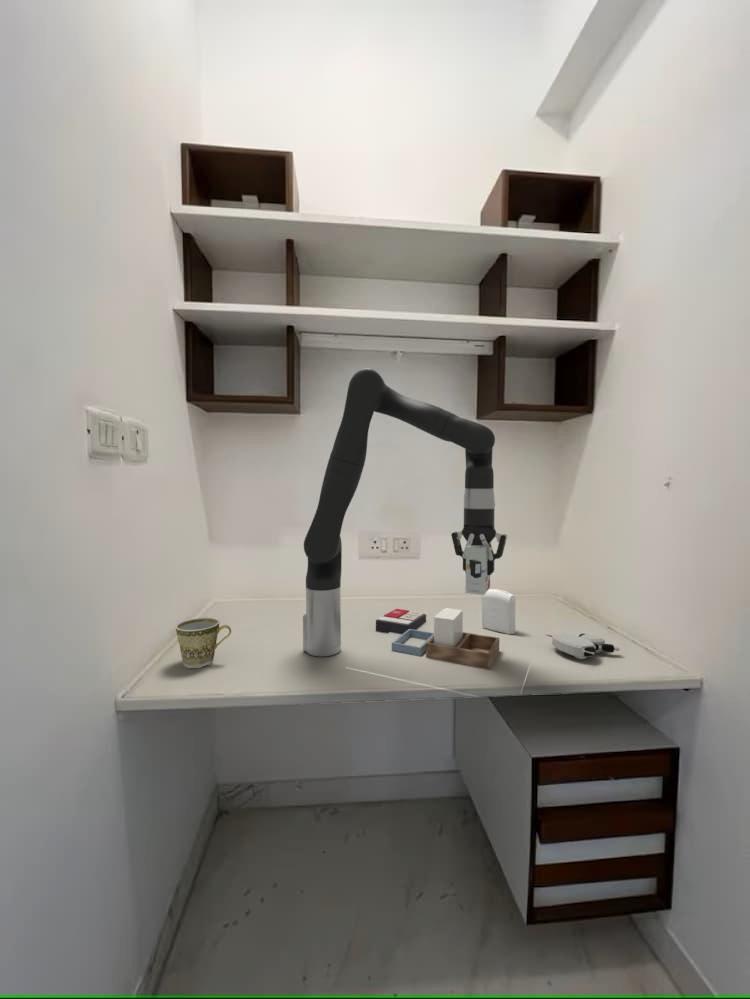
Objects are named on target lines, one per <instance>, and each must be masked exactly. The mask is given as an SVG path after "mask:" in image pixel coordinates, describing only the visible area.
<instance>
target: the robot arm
mask: <svg viewBox="0 0 750 999" xmlns="http://www.w3.org/2000/svg"><path fill="white" fill-rule="evenodd" d="M349 380H350V381H349V383H348V387H347V392H346V399H345V405H344V409H343V414H342V418H341V422H340V425H339V428H338V430H337V432H336V436H335V440H334V443H333V446H332V449H331V452H330V455H329V458H328V461H327V465H326V469H325V472H324V477H323V480H322V484H321V489H320V495H319V498H318V499H319V500H318V504H317V507H316V510H315V513H314V516H313V519H312V522H311V524H310V526H309V529H308V530H307V533H306V535H305V537H304V540H303V551H304V553H305V556H306V557H307V570H306V576H305V614H303V615H302V651H303V652H306V653H307V654H308V655H310V656H313V657H330V656H334V655H336V654H339V652H341V649H342V640H341V638H342V616H341V614H342V611H341V608H342V607H341V606H342V605H341V604H342V603H341V602H342V597H341V594H342V593H341V591H342V590H341V588H342V586H341V584H342V583H341V580H342V558H343V556H342V547H343V546H342V538H341V537H342V536H341V531H342V528H343V523H344V518H345V515H346V513H347V510H348V509H349V506H350V504H351V502H352V500H353V498H354V496H355V493H356V491H357V489H358V486H359V483H360V480H361V477H362V474H363V470H364V467H365V462H366V459H367V458H366V457H367V449H368V438H369V430H370V429H369V428H370V424H371V421H372V419H373V415H374V413H375V412H376V413H379V414H382V415H387V416H389V417H392V418H395V419H397V420H400V421H402V422H403V423H404V422H405V423H407V424H408V425H411V426H412V427H415V428H416V429H419V430H420V431H423V432H424V433H427V434H429V435H431V436H433V437H435V438H437V439H440V440H442V441H445V442H449V443H453V444H455V445H456V446H459V447H461V448H463V449H464V452H465V456H464V457H465V473H464V495H463V527H462V529H461V531H454V532H451V535H450V536H451V540H452V544H453V549H454V552H455V555H456V556H458V557H460V558H462V570H463V571H464V572H465V574H466V547H467V546H468V545H483V546H487V556H488V561H487V575H490V576H491V575H492V574H493V573H494V572H495V560H498V559H501V558H502V556H503V555H504V550H505V546H506V543H507V538H508V535H507V534H506V533H504V534H503V533H498V532H497V531H496V529H495V507H496V501H495V492H494V490H495V489H494V487H495V486H494V480H495V478H494V469H493V448H494V446H495V443H496V438H495V434H494V432H493V431H492V429H491V428H489V427H487V426H486V425H483V424H481V423H479V422H476V421H474V420H469V419H467V418H464V417H460V416H458V415H456V414H455V413H452V412H450V411H448V410H447V409H444V408H441V407H439V406H436V405H434V404H431V403H428V402H424V401H420V400H416V399H414V398H410V397H408V396H405V395H403V394H401V393H399V392H397V391H395V390H394V389H393V388H391V387H390V386H388V385H387V384H386V383H385V381H384V378H383V377H382V376H381V374H380V373H379V372H378V371H377V370H375V369H373V368H369V367H368V368H367V367H366V368H361V369H359V370H358V371H357V372H355V373H354V374H353V375H352V377H351V379H349ZM462 537H463V538H464V539H465V541H466V544H465V547H464V549H463V548H462V544H461V543H462V542H461V540H462ZM494 539H496V542H497V543H498V545H497V549H496V552H495V553H494V548H493V546H492V541H493V540H494Z"/></svg>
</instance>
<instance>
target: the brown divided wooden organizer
mask: <svg viewBox="0 0 750 999" xmlns="http://www.w3.org/2000/svg"><path fill="white" fill-rule="evenodd" d="M499 652H500V637H496V636H490V635H483V634H477V633H470V632H463V639H462V641H461V642H460V643H459V644H458V646H457V647H450V646H444V645H438V644H434V636H433V637H432V638H431V639H430V640H429V641H428V642H427V643H426V651H425V657H426V658H429V659H435V660H440V661H444V662H450V663H455V664H461V665H467V666H472V667H476V668H477V667H478V668H482V669H488V670H491V668H492V666H493V665H494V663H495V660H496V658H497V657H498V654H499Z"/></svg>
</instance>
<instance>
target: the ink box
mask: <svg viewBox="0 0 750 999" xmlns="http://www.w3.org/2000/svg"><path fill="white" fill-rule="evenodd" d="M487 561H488V556H487V546H483V545H468V546H467V547H466V573H465V587H464V588H465V591H464V592H465V594H471V595H481V596H482V595H485V593H486V592H487V591H488V590H489V589H491V588H490V587H491V575H487Z"/></svg>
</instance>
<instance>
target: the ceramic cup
mask: <svg viewBox="0 0 750 999" xmlns="http://www.w3.org/2000/svg"><path fill="white" fill-rule="evenodd" d="M223 629H228V631H229V633H228V634H227V635H226V636H224V637H223V638H222V639H221V640H220V641H219V642H218V643H217V641H218V635H219V633H220V632H221V630H223ZM175 632H176V637H177V642H178V645H179V651H180V653H181V658H182V665H183V667H185V668H187V669H190V668H198V669H202V668H201V667H203V666H206V665H209V664H212V663H213V662H214V658H215V653H216V652H215V651H216V649H217V647H218V646H219V645H220V644H222V642H223V641H224V640H226V639H227V638H229V636H230V635H231V633H232V629H231V627H230V625H228V624H224V625H221V626H220V620H219V619H218V618H215V617H196V618H195V617H194V618H190V619H186V620H183V621H181V622H179V623H177V624H176V626H175ZM212 661H213V662H212ZM211 662H212V663H211ZM209 666H210V665H209ZM206 667H207V666H206ZM203 668H204V667H203ZM190 670H191V669H190Z"/></svg>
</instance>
